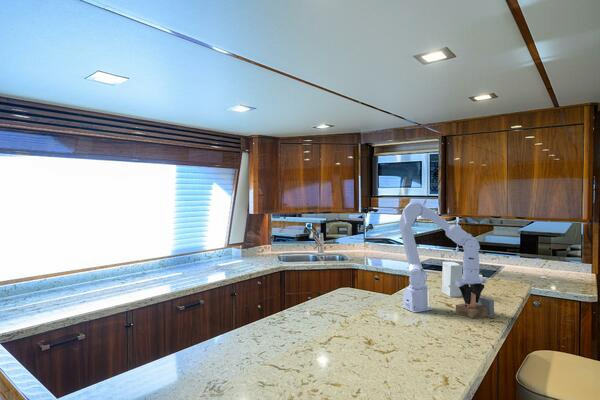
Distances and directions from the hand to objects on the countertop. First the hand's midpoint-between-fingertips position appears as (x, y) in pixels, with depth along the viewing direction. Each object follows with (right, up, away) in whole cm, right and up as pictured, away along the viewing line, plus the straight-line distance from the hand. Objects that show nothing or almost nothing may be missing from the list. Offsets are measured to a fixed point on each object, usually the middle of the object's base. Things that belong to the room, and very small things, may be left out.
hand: (471, 302), depth 141 cm
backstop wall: (+5, -4, +2) cm, 7 cm away
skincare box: (+4, -4, +28) cm, 28 cm away
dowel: (0, -5, 0) cm, 5 cm away
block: (0, -4, 0) cm, 4 cm away
